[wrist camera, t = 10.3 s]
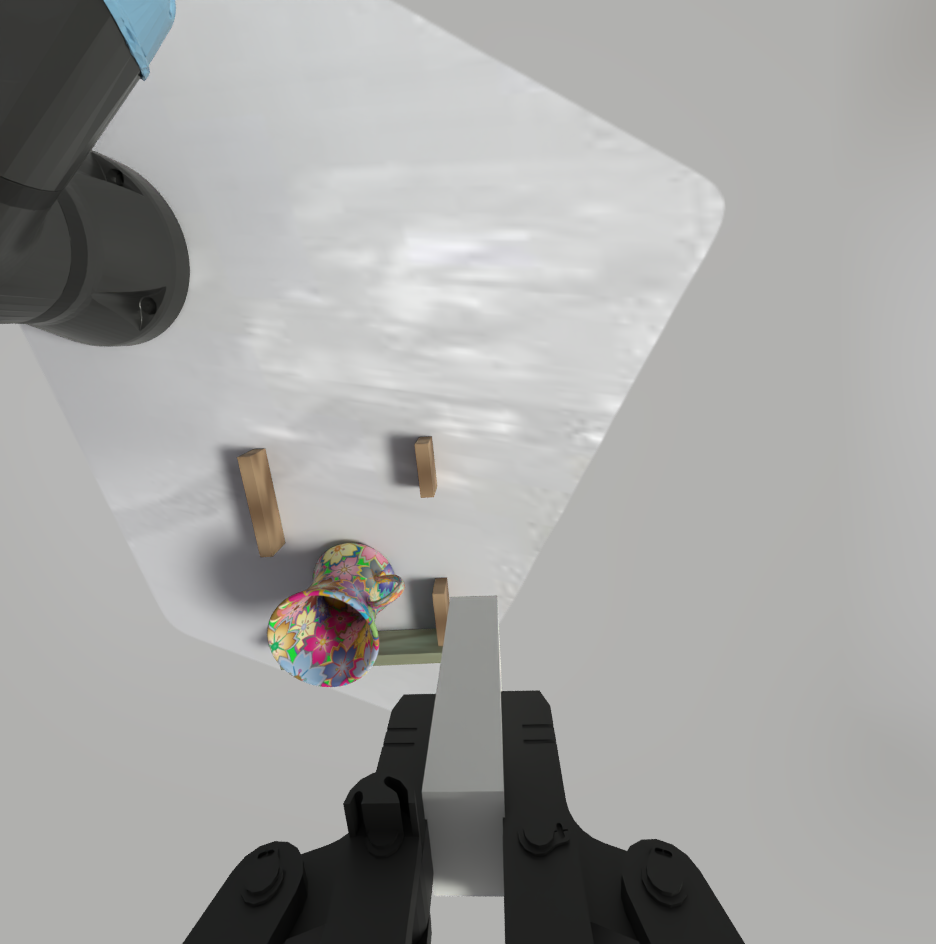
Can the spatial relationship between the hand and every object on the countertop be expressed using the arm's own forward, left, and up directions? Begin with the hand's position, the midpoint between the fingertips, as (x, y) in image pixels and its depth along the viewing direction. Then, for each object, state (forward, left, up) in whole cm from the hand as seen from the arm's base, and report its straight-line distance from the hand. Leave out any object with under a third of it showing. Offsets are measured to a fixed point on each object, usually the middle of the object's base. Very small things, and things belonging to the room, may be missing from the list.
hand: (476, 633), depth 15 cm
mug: (+13, -13, -30) cm, 35 cm away
